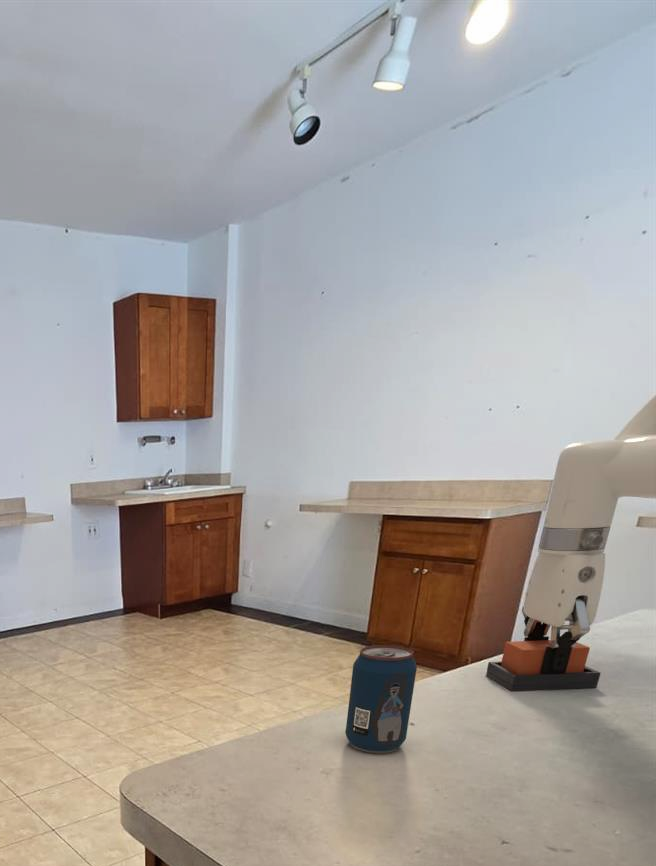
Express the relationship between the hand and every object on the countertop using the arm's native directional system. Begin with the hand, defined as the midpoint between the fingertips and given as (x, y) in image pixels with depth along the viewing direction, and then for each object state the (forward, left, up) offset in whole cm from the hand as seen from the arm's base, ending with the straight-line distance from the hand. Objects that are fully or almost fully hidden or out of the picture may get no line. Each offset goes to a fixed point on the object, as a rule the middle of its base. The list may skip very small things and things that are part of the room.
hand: (541, 666), depth 96 cm
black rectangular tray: (0, 0, -2) cm, 2 cm away
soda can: (+31, +22, -3) cm, 38 cm away
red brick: (0, 0, -1) cm, 1 cm away
